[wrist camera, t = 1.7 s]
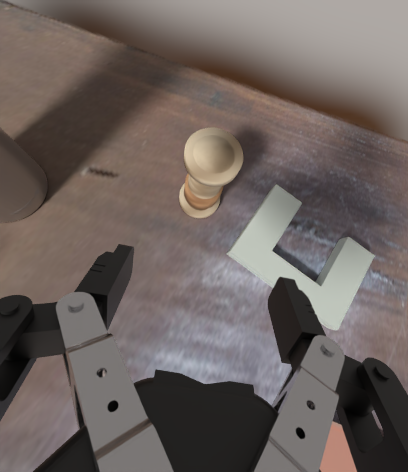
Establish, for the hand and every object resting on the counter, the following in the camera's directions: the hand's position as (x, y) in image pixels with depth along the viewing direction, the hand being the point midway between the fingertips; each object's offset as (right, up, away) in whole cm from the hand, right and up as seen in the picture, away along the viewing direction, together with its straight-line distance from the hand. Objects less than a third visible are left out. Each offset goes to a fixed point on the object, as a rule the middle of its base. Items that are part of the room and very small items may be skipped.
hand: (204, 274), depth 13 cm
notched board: (+13, -1, +21) cm, 25 cm away
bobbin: (-1, +7, +21) cm, 22 cm away
